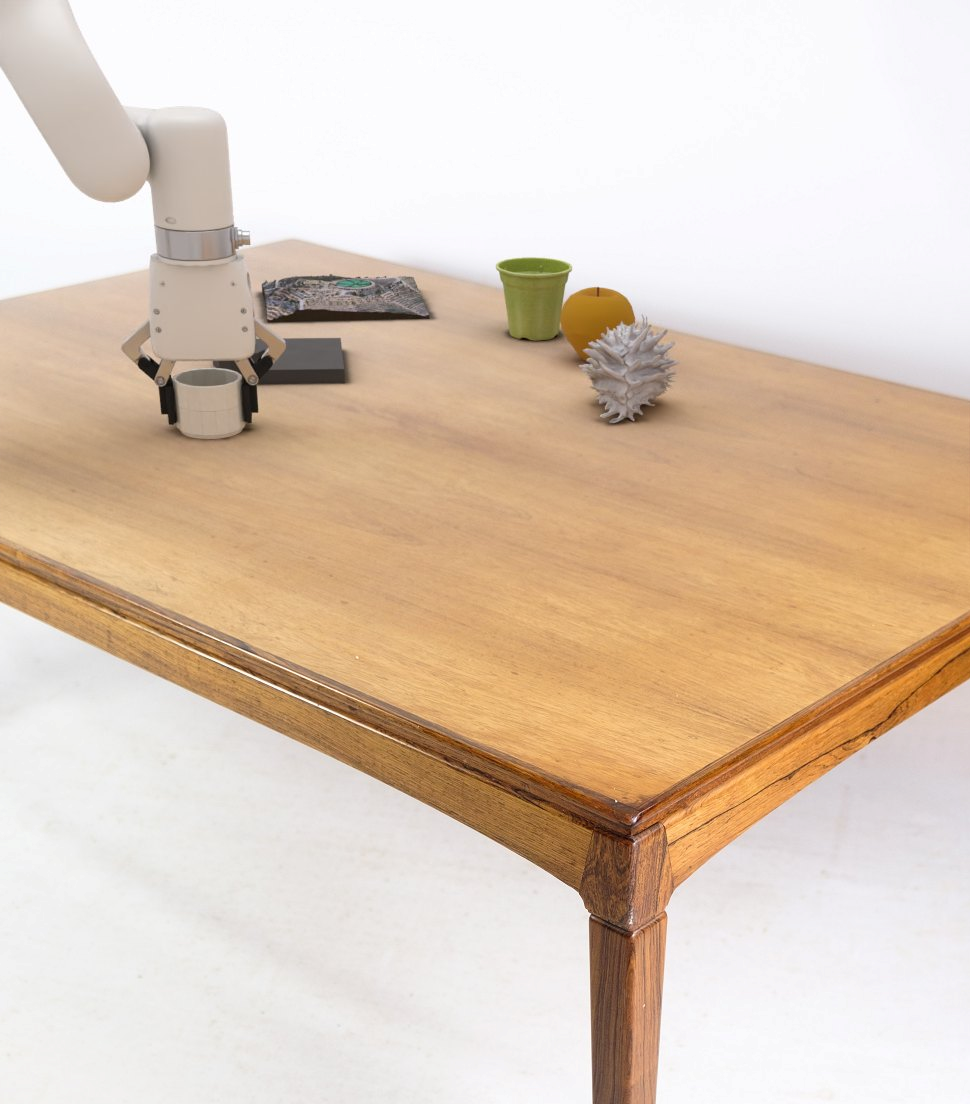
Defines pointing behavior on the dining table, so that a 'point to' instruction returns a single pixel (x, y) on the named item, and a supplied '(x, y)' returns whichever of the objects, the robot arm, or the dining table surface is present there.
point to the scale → (300, 362)
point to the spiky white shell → (629, 369)
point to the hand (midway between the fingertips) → (210, 418)
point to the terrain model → (342, 299)
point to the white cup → (208, 403)
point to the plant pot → (534, 295)
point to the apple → (593, 316)
